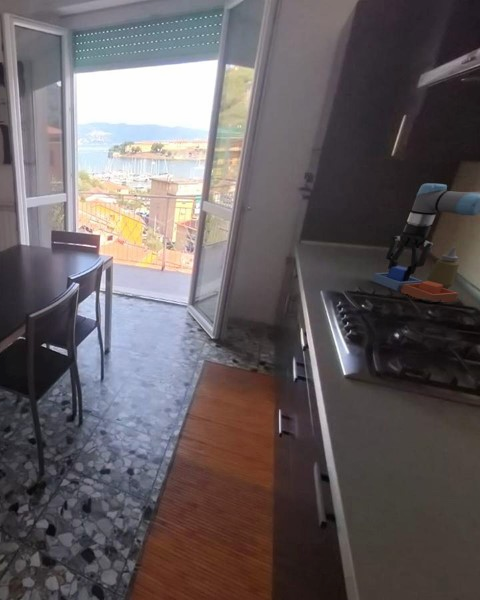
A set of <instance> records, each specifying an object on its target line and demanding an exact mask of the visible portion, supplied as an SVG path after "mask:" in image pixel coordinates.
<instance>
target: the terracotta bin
mask: <svg viewBox="0 0 480 600" xmlns="http://www.w3.org/2000/svg"><path fill="white" fill-rule="evenodd" d="M419 285H420V283H413V284H404V285H403V287H402V290H400V293H401V294H404V295H406V294H408V295H407V296H409V295H410V296H409V297H411V296H412V297H411V298H414V297H415V298H414V299H417V298H425V299H428V300H432V301H437V300H440V299H441V300H442V301H443V303H455V301H456V300H457V297H458V295H459V292H457V291H454V290H451V289H449V288H448V289H445V288H442V289H441V291H440V293H439V294H431V293H428V292H426V291H423V290H420V289H418V288H419Z"/></svg>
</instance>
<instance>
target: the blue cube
mask: <svg viewBox="0 0 480 600" xmlns="http://www.w3.org/2000/svg"><path fill="white" fill-rule="evenodd" d="M407 268H408V267H406V266H402V265H397V266H394V267H391V269H389V270H390V272H389V271H388V273H389V275H388V277H387V278H390V279H393V280H396V281H399V282H402V281H403V278H404V276H405V273H406V271H407Z"/></svg>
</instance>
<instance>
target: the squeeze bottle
mask: <svg viewBox="0 0 480 600" xmlns="http://www.w3.org/2000/svg"><path fill="white" fill-rule="evenodd" d="M456 254H457V247H456V246H452V247H451V248H450V249H449V250H448V252H447V254H442V256H441V258H440V259H437V260H436V261H435V263H434V265H433V267H432V268H431V270H430V272H429V273H428V275H427V277H426V281H431V282H435V283H439V284H442V285H443V287H442V288H445V289H448V290H449V289H450V287H452V286H453V285H454V282H455V279H456V275H457V273H458V269H459V266H460V263H459V262H458V260H459V256H457V255H456Z"/></svg>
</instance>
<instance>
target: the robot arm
mask: <svg viewBox="0 0 480 600" xmlns="http://www.w3.org/2000/svg"><path fill="white" fill-rule="evenodd" d="M447 188H448V185H447V184H443V183H432V182H431V183H429V182H428V183H423V184H422V185H421V186H420V187H419V189H418V192H417V193H416V197H415V200H414V203H413V205H412V208H411V211H410V213H409V215H408V218H407V221H406V222H407V223H406V224H405V226H404V227H403V231H402V234H400V235H394V236H392V237H391V243H390V246H389V248H388V251H387V254H386V257H385V259H386V260H388V261H389V263H388V266H387V268H388V269H389V270H388V272H387V273H388V275H389V272H390V269H391V267H394V266H398V264H399V261H398V260H399V258H400V256H401V255H402V254H403V252H404V251H405V250H406V248H408V247H409V248H411V259H410V260H411V262H410V265H408V266H407V267H406V268H407V271H406V273H405V276H404V278H403V281H404V282H405V281H408V280H409V277H411V275H414V274H415V272H416V269H417V268H419V267H423V266H425V263H426V261H427V258H428V256H429V253H430V251H431V249H432V248H433V247H434V246H435V243H434V242H430V241H428V238H427V237H428V235H429V233H430V230H431V226H432V225H433V222H434V220H435V218H436V215H437V213H438V212H443V213H449V214H456V215H460V216H469V217H470V216H471V217H474V216H477V215H478V214H480V191H451V190H447ZM400 241H401V244H400V245H399V247H398V244H399V242H400ZM422 245H423V249H422V250H421V246H422ZM397 247H398V248H397ZM396 249H397V250H396ZM420 250H421V254H420ZM387 277H388V276H387Z"/></svg>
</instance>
